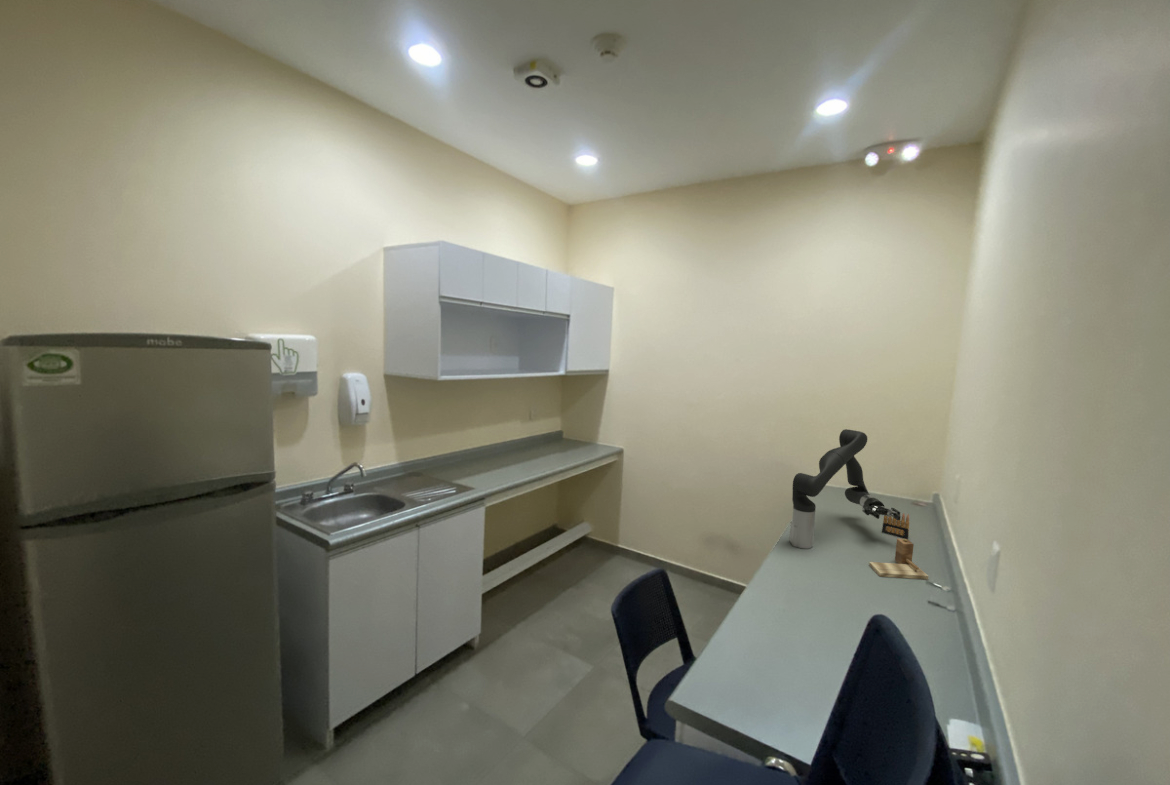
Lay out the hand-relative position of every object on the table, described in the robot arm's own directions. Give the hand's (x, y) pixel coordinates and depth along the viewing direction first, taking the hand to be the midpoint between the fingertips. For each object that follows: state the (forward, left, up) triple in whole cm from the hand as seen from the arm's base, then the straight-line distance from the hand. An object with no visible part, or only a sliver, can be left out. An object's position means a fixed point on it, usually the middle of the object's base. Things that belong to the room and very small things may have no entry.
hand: (888, 517), depth 209 cm
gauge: (+1, -16, -15) cm, 22 cm away
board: (-5, -21, -15) cm, 26 cm away
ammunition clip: (+12, +16, -15) cm, 25 cm away
